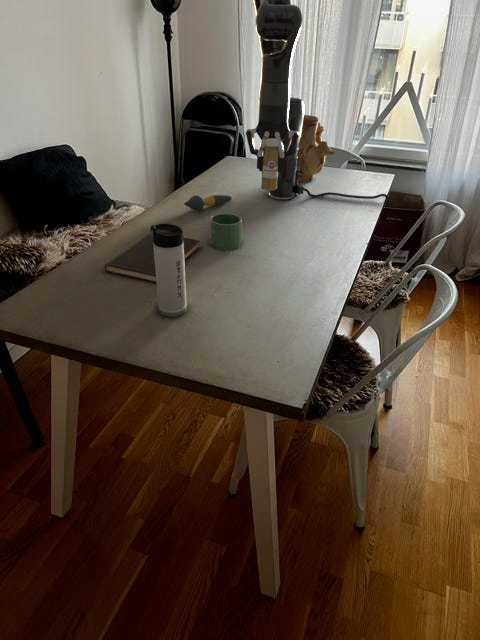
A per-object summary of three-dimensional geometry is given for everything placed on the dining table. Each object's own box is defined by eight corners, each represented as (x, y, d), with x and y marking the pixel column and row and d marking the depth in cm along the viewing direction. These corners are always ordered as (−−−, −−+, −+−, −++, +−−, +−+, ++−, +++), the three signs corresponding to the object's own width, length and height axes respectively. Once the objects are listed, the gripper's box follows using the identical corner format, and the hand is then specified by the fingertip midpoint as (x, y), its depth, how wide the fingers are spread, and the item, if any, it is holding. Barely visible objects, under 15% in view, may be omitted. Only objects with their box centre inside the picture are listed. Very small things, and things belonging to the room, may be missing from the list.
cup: (233, 235, 141) (233, 211, 137) (246, 246, 135) (246, 222, 131) (206, 240, 138) (205, 215, 134) (218, 252, 131) (218, 226, 127)
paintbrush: (225, 198, 168) (225, 184, 166) (234, 202, 166) (234, 188, 163) (181, 211, 157) (180, 196, 154) (190, 215, 154) (190, 200, 151)
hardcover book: (200, 248, 133) (199, 240, 132) (159, 284, 115) (159, 276, 114) (151, 238, 138) (150, 231, 137) (105, 271, 120) (103, 263, 119)
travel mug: (158, 302, 108) (151, 221, 97) (186, 302, 109) (183, 220, 98) (156, 317, 103) (148, 233, 92) (186, 316, 104) (182, 232, 92)
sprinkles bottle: (264, 191, 125) (267, 139, 118) (258, 186, 129) (260, 135, 121) (280, 190, 127) (284, 138, 119) (273, 185, 130) (276, 134, 123)
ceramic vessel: (330, 185, 184) (339, 117, 170) (283, 186, 182) (288, 117, 168) (318, 172, 199) (326, 108, 185) (274, 172, 197) (278, 108, 183)
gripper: (302, 100, 118) (296, 168, 128) (246, 97, 119) (244, 165, 129) (303, 105, 112) (296, 176, 122) (244, 102, 113) (242, 173, 122)
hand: (269, 170), depth 125 cm, fingers closed on sprinkles bottle, 4 cm apart
